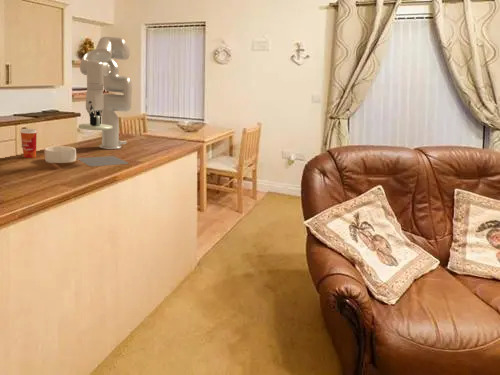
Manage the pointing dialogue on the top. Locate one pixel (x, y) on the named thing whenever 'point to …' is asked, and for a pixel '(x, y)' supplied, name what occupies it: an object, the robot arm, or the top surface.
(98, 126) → the lid
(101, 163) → the mat
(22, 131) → the paper cup
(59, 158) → the bowl
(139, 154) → the top surface
